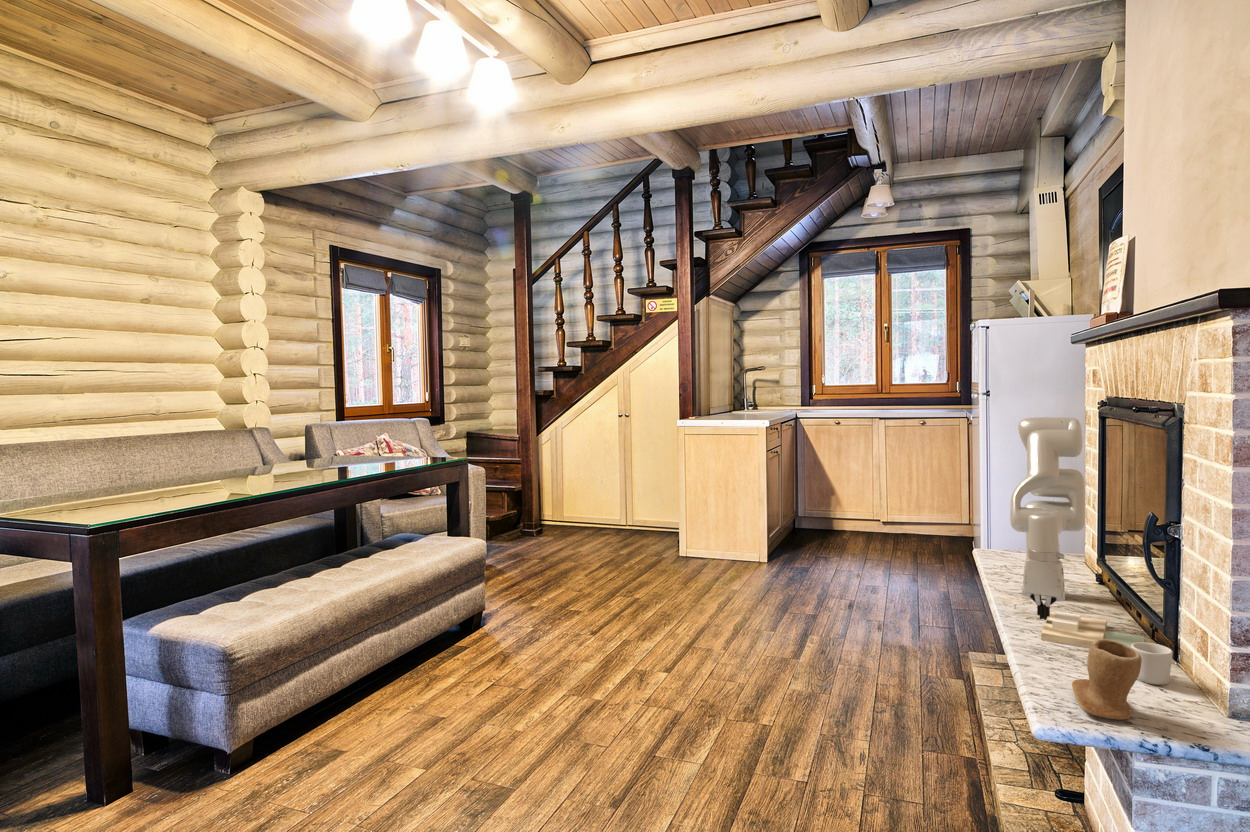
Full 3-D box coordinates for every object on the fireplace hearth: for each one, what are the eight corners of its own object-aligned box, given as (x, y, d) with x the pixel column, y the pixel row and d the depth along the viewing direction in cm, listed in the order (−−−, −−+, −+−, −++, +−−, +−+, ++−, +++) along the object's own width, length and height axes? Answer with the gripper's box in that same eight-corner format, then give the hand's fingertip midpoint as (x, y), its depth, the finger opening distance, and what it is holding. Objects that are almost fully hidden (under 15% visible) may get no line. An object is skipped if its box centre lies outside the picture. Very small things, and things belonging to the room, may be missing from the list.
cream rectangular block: (1056, 618, 209) (1056, 611, 209) (1080, 621, 205) (1080, 614, 205) (1052, 627, 201) (1052, 620, 201) (1077, 631, 197) (1077, 624, 197)
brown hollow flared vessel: (1146, 729, 147) (1146, 657, 146) (1078, 718, 152) (1078, 649, 151) (1133, 699, 160) (1133, 633, 159) (1070, 690, 165) (1070, 627, 165)
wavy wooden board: (1051, 618, 215) (1051, 611, 215) (1106, 626, 206) (1106, 619, 206) (1041, 639, 197) (1041, 632, 197) (1101, 650, 189) (1101, 642, 189)
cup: (1137, 668, 177) (1137, 636, 177) (1177, 676, 171) (1177, 644, 171) (1127, 681, 169) (1127, 648, 169) (1169, 691, 164) (1169, 656, 163)
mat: (1105, 632, 202) (1105, 630, 202) (1144, 638, 196) (1144, 636, 196) (1101, 652, 187) (1101, 650, 187) (1143, 659, 182) (1143, 657, 182)
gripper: (1075, 556, 204) (1075, 619, 205) (1016, 550, 213) (1016, 610, 214) (1072, 561, 198) (1072, 626, 199) (1012, 555, 207) (1012, 617, 208)
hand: (1043, 618), depth 206 cm, fingers closed
